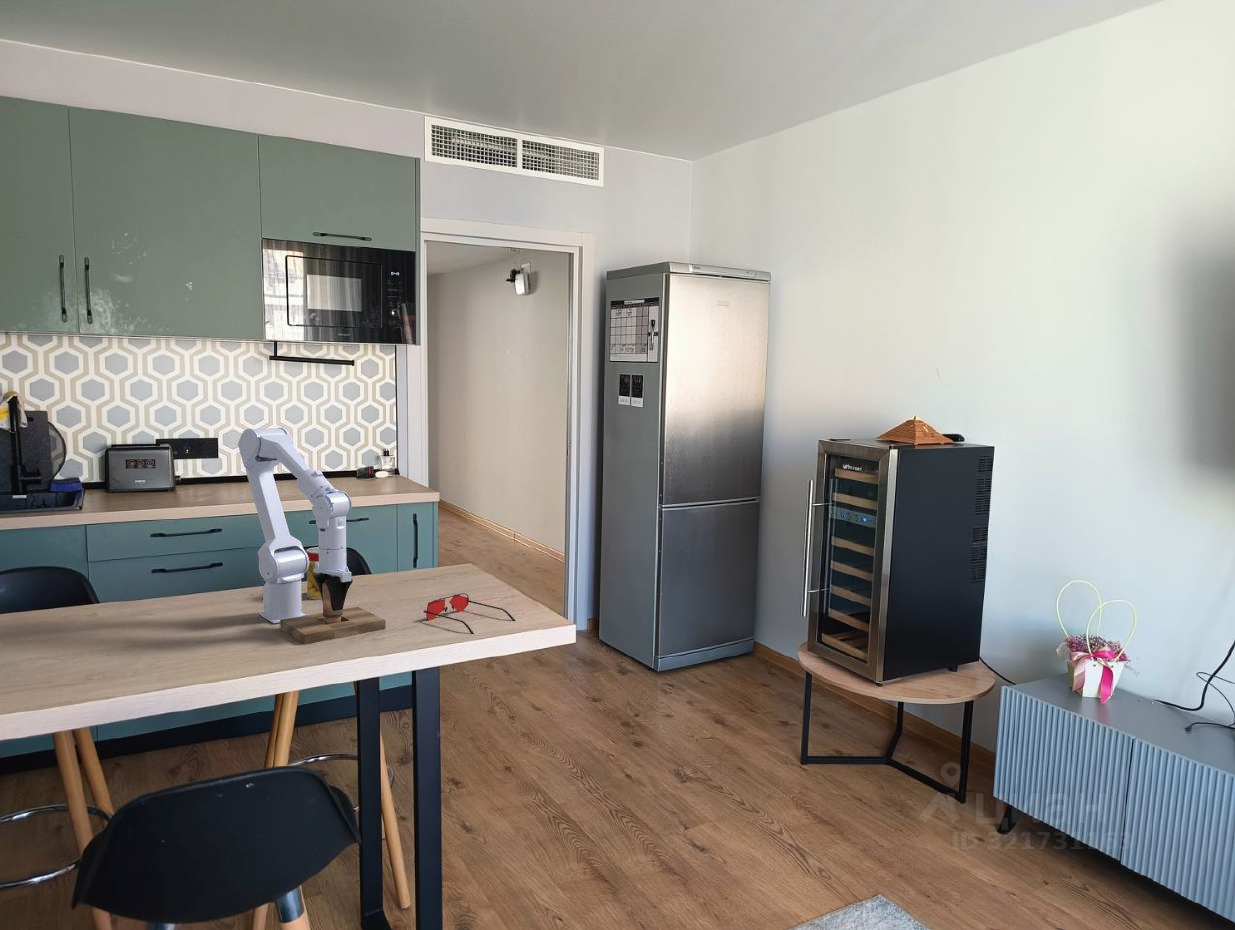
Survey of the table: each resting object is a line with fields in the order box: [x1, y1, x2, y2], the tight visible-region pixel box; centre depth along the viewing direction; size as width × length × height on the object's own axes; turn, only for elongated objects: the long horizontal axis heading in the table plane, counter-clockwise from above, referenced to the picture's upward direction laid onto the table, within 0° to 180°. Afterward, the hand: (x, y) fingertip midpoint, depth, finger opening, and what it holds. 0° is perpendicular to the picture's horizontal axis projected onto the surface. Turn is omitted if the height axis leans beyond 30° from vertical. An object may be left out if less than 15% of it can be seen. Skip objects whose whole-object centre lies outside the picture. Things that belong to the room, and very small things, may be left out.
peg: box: [322, 583, 343, 625], centre depth 181 cm, size 4×4×9 cm
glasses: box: [422, 592, 517, 635], centre depth 190 cm, size 14×16×5 cm
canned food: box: [306, 546, 322, 601], centre depth 209 cm, size 8×8×12 cm
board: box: [279, 606, 387, 645], centre depth 181 cm, size 14×18×2 cm
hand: (333, 607), depth 181 cm, fingers closed on peg, 4 cm apart
